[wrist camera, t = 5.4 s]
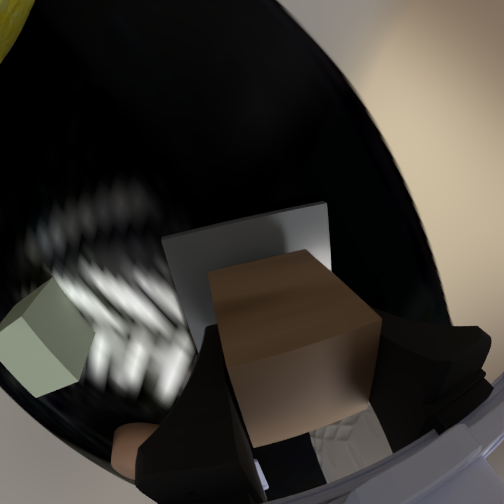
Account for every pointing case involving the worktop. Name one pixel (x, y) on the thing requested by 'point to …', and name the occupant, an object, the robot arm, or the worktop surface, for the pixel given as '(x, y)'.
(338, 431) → the white cup
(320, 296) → the walnut block
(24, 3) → the bowl
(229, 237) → the plate
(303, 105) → the worktop surface
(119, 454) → the brown rounded disc
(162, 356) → the worktop surface
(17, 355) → the sage cube
